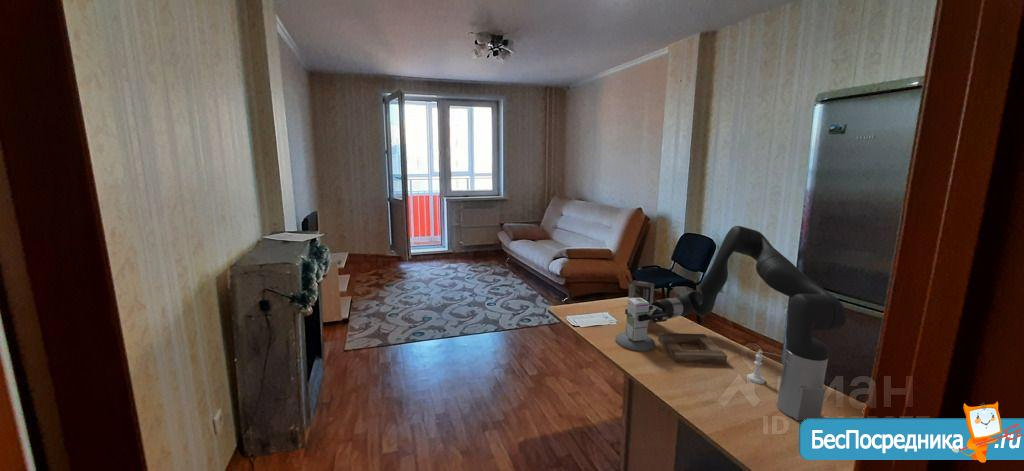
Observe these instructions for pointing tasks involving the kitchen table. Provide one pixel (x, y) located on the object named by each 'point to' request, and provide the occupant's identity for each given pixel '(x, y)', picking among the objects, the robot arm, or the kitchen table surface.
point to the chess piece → (757, 370)
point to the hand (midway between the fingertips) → (632, 315)
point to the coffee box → (642, 291)
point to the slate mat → (634, 343)
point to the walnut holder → (706, 355)
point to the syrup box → (636, 319)
